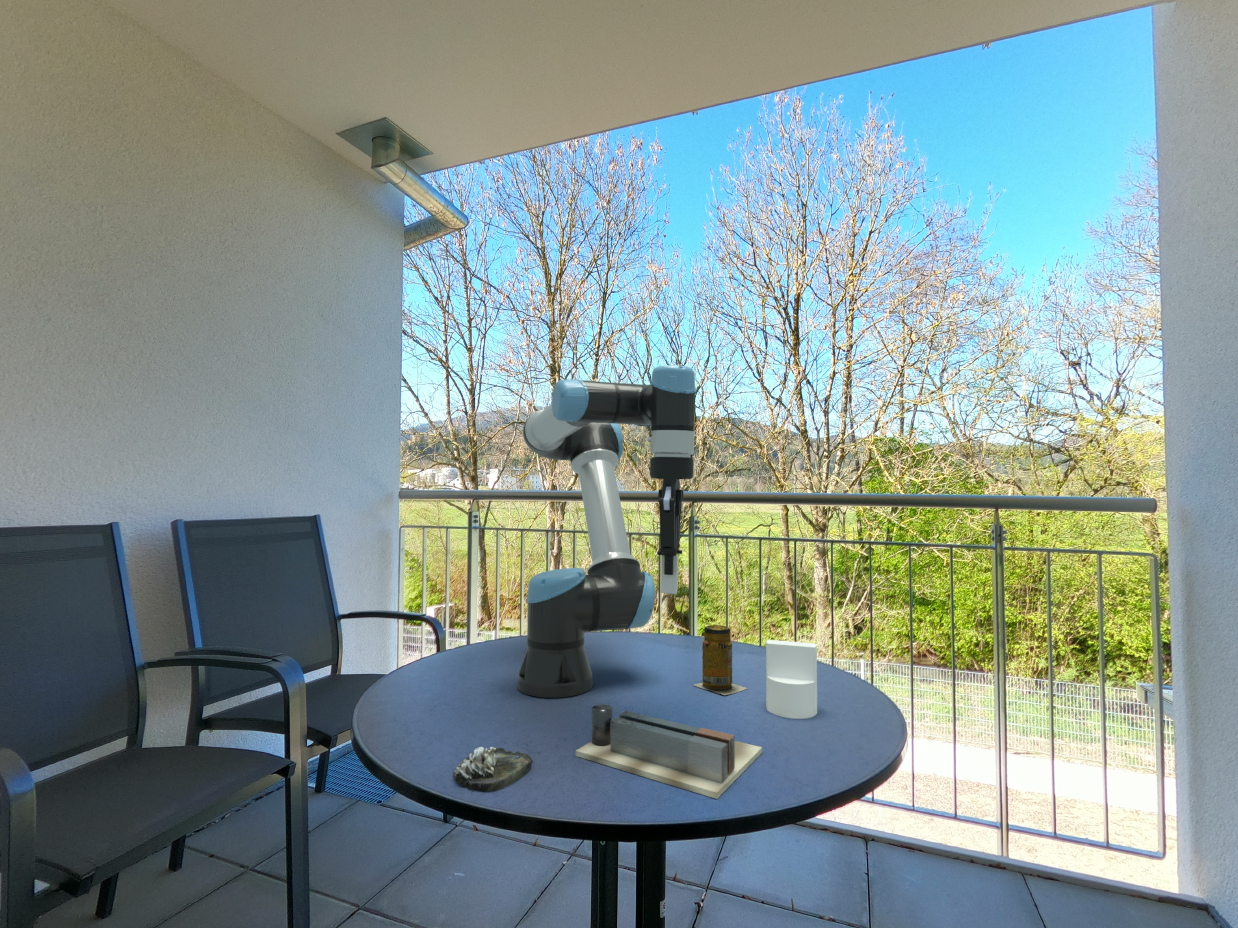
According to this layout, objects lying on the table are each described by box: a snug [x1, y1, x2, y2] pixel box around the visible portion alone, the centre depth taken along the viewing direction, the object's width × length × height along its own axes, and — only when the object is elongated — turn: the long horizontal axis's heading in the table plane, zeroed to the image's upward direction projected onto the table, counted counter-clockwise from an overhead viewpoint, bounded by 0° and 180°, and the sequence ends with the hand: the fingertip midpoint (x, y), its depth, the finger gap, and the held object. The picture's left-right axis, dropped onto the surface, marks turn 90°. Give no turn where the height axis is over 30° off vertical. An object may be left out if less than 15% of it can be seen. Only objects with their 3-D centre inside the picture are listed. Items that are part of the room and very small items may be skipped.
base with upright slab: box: [765, 639, 818, 720], centre depth 112 cm, size 9×9×12 cm
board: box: [575, 740, 763, 800], centre depth 92 cm, size 23×17×1 cm
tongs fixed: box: [591, 703, 727, 784], centre depth 89 cm, size 23×4×5 cm, turn 57°
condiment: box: [693, 624, 748, 696], centre depth 124 cm, size 7×8×12 cm
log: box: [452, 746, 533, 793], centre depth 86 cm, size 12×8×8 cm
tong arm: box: [618, 710, 736, 774], centre depth 89 cm, size 18×2×5 cm, turn 58°
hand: (669, 592), depth 105 cm, fingers closed
